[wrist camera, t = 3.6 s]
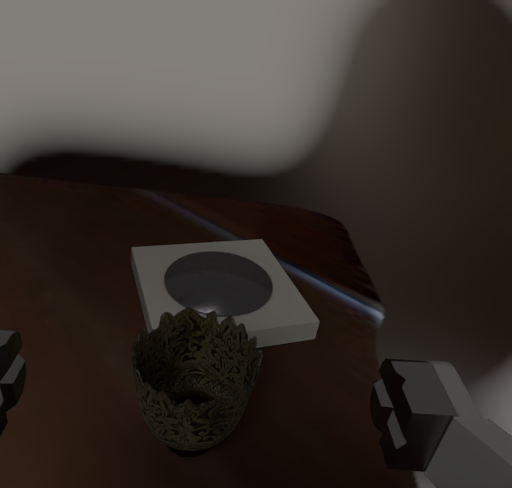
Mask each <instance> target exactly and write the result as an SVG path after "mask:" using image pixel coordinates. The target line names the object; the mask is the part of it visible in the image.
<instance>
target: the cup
mask: <svg viewBox="0 0 512 488" xmlns="http://www.w3.org/2000/svg"><path fill="white" fill-rule="evenodd" d="M206 316H207V317H206V318H205V317H203V316H201V315H200V314H199V312H198V311H196V310H195V309H193V308H191V307H187V308H185V309H183V310H181V311H180V312H178V313H177V314H176V315H174V316H173V315H172V314H171V313H170V312H164V313H163V314H162V315H161V317H160V322H159V326H158V328H157V329H155V330H154V329H151V331H150V333H149V334H147V333H146V331H145V329H142V330H140V331H139V334H138V339H137V342H135V343H134V344H133V345H132V349H131V351H132V362H133V367H134V375H135V381H136V388H137V394H138V400H139V405H140V409H141V413H142V416H143V418H144V421H145V423H146V425H147V427H148V428H149V430H150V431H151V432H152V434H153V435H154V436H155V437H156V438H157V439H158V440H160V441H161V442H163V443H164V444H166V446H167V447H168V448H169V449H170V450H171V451H172V452H173V453H175V454H177V455H179V456H182V457H195V456H199V455H201V454H203V453H205V452H206V451H207V450H208V449H210V448H211V447H212V446H214V445H217V444H218V443H220V442H221V441H223V440H224V439H225V438H226V437H227V436H228V435H229V434H230V433H231V432H232V431H233V430H234V429H235V427H236V426H237V424H238V422H239V421H240V419H241V417H242V415H243V413H244V410H245V408H246V406H247V403H248V400H249V398H250V395H251V392H252V389H253V387H254V384H255V381H256V379H257V377H258V374H259V371H260V365H261V361H262V358H263V352H262V351H261V350H260V351H259V350H256V346H257V337H256V336H254V337H253V338H251V339H250V340H249V341H248V334H247V333H246V329H245V325H244V324H243V323H240V324H239V325H236V322H235V320H234V318H233V317H232V316H229V317H227V318H225V319H224V320H223V321H222V322H221V324H218V320H217V313H216V311H210V312H209V313H208V314H207V315H206Z"/></svg>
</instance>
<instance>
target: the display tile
mask: <svg viewBox="0 0 512 488" xmlns="http://www.w3.org/2000/svg"><path fill="white" fill-rule="evenodd" d="M131 265H132V269H133V273H134V277H135V282H136V286H137V290H138V294H139V298H140V302H141V306H142V310H143V315H144V319H145V323H146V327H147V331H148V334H149V333H150V331H151V329H154V330H155V329H157V328H158V326H159V322H160V317H161V315H162V314H163V313H164V312H170V313H171V314H172V315H173V316H174V315H176V314H177V313H178V312H180V311H181V310H183V309H185V308H187V307H191V308H193V309H195V310H196V311H198V312H199V314H200V315H201V316H203V317H205V318H206V317H207V316H206V315H207V314H208V313H209V312H210V311H216V313H217V320H218V324H221V322H222V321H223V320H224V319H225V318H227V317H229V316H232V317H233V318H234V320H235V322H236V325H239V324H240V323H243V324H244V325H245V329H246V333H247V334H248V341H249V340H250V339H251V338H253V337H254V336H256V337H257V346H256V348H259V347H266V346H272V345H279V344H285V343H292V342H298V341H304V340H311V339H315V337H316V333H317V330H318V326H319V322H320V321H319V320H318V318H317V317H316V315H315V314H314V313H313V311H312V310H311V308H310V307H309V305H308V304H307V303H306V301H305V300H304V298H303V297H302V295H301V294H300V293H299V291H298V290H297V288H296V287H295V285H294V284H293V283H292V281H291V280H290V278H289V277H288V275H287V274H286V273H285V271H284V270H283V268H282V267H281V265H280V264H279V263H278V261H277V260H276V258H275V257H274V255H273V254H272V253H271V251H270V250H269V248H268V247H267V245H266V244H265V243H264V241H263V240H262V239H257V240H240V241H224V242H208V243H192V244H176V245H160V246H144V247H131Z"/></svg>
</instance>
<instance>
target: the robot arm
mask: <svg viewBox="0 0 512 488" xmlns="http://www.w3.org/2000/svg"><path fill="white" fill-rule="evenodd" d="M22 346H23V345H22V340H21V335H20V333H18V332H16V331H6V330H0V436H1V434H2V432H3V430H4V429H5V427H6V425H7V423H8V421H7V416H6V412H7V411H8V410H9V409H11V408H12V407H14V406H15V405H17V403H18V401H19V399H20V397H21V394H22V392H23V388H24V384H25V380H26V365H25V360H24V359H23V358H22V357H20V356H19V355H18V353H19V351H20V349H21V347H22ZM379 372H380V374H381V377H382V379H381V380H379V381H378V382H376V383H375V384H374V386H373V389H372V392H371V397H370V410H371V417H372V420H373V423H374V426H375V427H376V428H377V429H378V430H380V431H381V432H382V433H383V434H382V437H381V439H380V442H379V443H380V446H381V449H382V452H383V455H384V459H385V462H386V465H387V468H388V469H396V470H409V471H423V472H425V473H424V474H425V475H426V476H427V477H428V478H429V480H430V481H431V482H432V483H433V484H434V485H435V486H436V488H512V436H511V435H510V434H508V433H507V432H506V431H504V430H503V429H502V428H500V427H499V426H498V425H496V424H495V423H494V422H493V421H491V420H490V419H483V418H482V416H481V414H480V412H479V411H478V409H477V407H476V405H475V404H474V402H473V400H472V398H471V397H470V395H469V393H468V392H467V390H466V388H465V386H464V384H463V383H462V381H461V379H460V377H459V376H458V374H457V372H456V370H455V369H454V367H453V365H451V364H450V363H449V362H439V361H418V360H403V359H402V360H401V359H387V358H386V359H385V360H384V361H383V362H382V364H381V367H380V369H379Z"/></svg>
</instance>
